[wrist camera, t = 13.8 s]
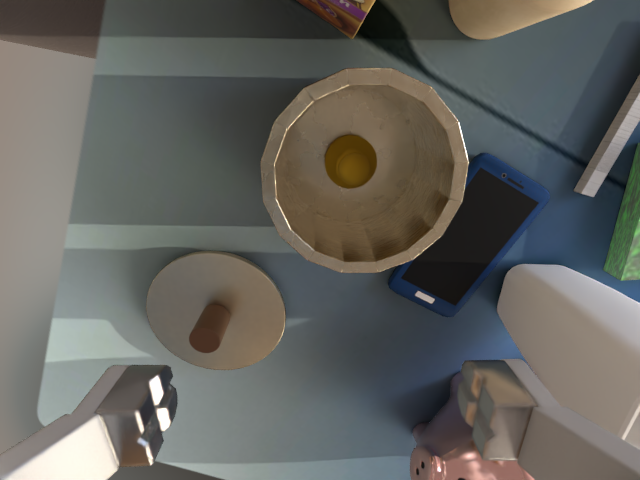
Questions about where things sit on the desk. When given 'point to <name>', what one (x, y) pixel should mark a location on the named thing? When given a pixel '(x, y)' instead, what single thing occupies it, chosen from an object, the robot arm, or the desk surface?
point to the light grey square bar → (611, 143)
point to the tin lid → (216, 310)
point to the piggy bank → (455, 449)
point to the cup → (578, 342)
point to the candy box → (341, 13)
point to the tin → (385, 185)
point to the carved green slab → (627, 230)
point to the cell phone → (472, 237)
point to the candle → (504, 14)
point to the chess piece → (350, 161)
